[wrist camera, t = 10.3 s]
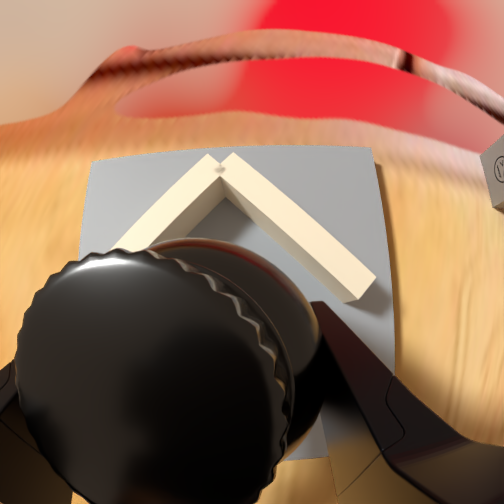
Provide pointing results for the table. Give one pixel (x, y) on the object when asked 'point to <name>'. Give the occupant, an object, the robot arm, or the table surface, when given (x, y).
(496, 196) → the dice cube
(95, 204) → the v cradle
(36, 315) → the supplement bottle
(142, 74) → the table surface
